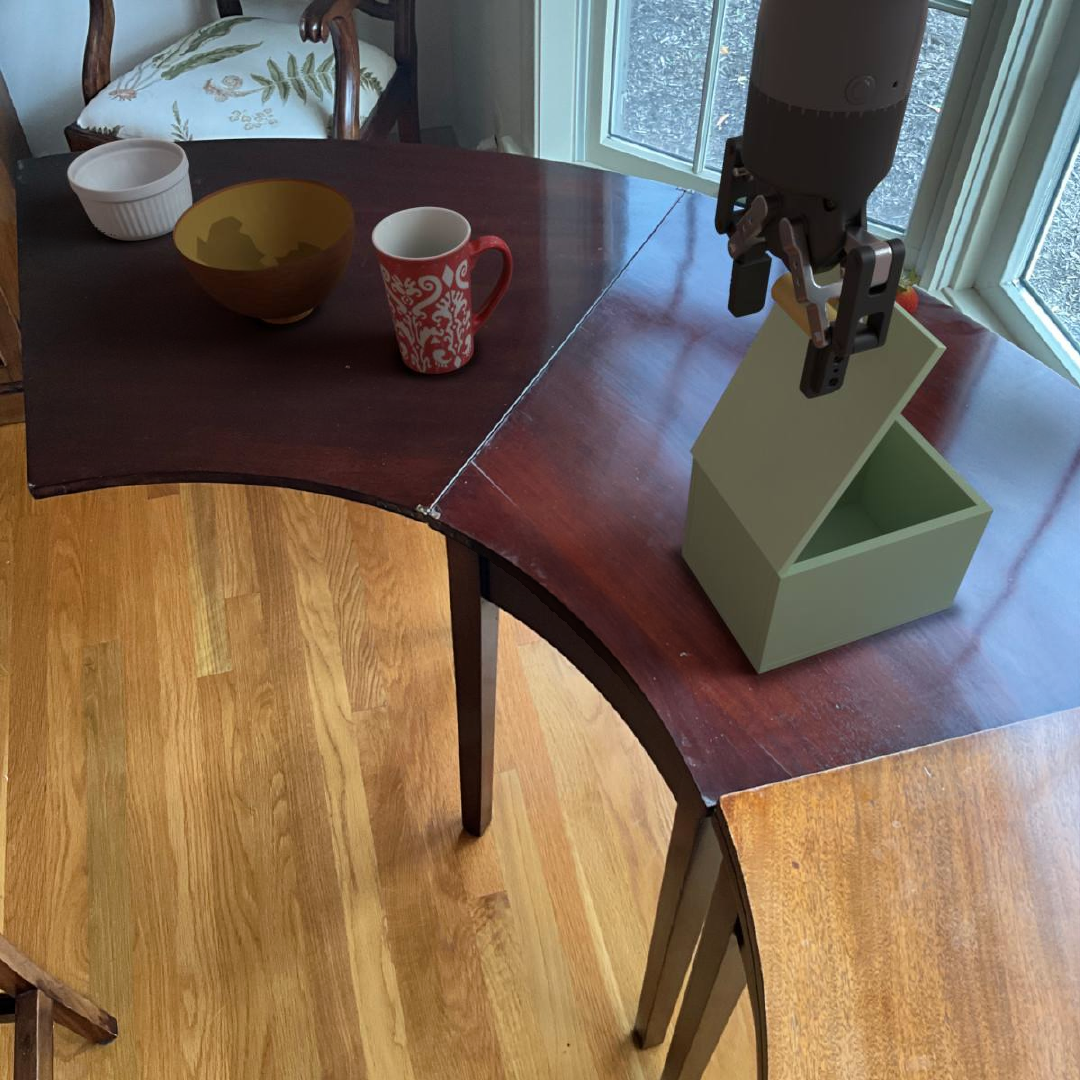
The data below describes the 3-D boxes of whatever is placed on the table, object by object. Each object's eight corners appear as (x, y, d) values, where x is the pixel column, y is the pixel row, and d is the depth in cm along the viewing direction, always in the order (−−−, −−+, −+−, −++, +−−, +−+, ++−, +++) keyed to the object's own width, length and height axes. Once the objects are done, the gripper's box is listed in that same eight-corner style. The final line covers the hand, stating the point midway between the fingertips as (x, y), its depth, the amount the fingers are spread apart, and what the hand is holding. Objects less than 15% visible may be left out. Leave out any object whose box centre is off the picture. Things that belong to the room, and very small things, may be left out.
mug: (394, 387, 96) (374, 264, 86) (388, 332, 102) (368, 211, 92) (523, 370, 97) (518, 247, 88) (510, 317, 104) (503, 196, 94)
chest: (858, 499, 84) (888, 400, 76) (950, 608, 76) (994, 509, 68) (681, 554, 81) (692, 456, 73) (758, 674, 73) (780, 578, 65)
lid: (824, 235, 63) (759, 218, 60) (947, 347, 54) (879, 334, 52) (697, 452, 73) (637, 446, 70) (786, 574, 65) (722, 573, 62)
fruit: (909, 329, 100) (930, 258, 94) (902, 360, 97) (923, 289, 91) (857, 319, 102) (875, 249, 96) (849, 349, 98) (866, 279, 92)
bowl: (386, 334, 102) (371, 246, 95) (212, 374, 98) (183, 286, 91) (348, 248, 113) (332, 164, 106) (191, 282, 110) (163, 197, 102)
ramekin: (191, 181, 125) (174, 127, 120) (212, 231, 117) (195, 175, 112) (82, 206, 122) (60, 151, 117) (95, 258, 113) (73, 202, 108)
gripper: (994, 117, 43) (904, 406, 55) (820, 6, 53) (775, 275, 64) (845, 150, 42) (785, 440, 54) (691, 29, 51) (669, 301, 63)
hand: (779, 350), depth 59 cm, fingers open, 8 cm apart
